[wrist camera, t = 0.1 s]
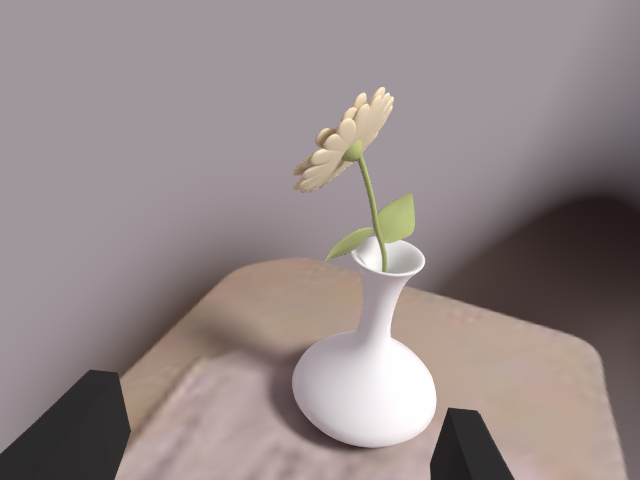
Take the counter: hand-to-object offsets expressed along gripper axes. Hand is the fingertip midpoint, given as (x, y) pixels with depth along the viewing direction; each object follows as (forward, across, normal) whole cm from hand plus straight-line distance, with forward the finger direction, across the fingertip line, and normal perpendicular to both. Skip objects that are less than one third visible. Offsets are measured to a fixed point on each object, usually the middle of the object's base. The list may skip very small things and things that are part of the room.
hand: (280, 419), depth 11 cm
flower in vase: (+19, -4, +23) cm, 30 cm away
